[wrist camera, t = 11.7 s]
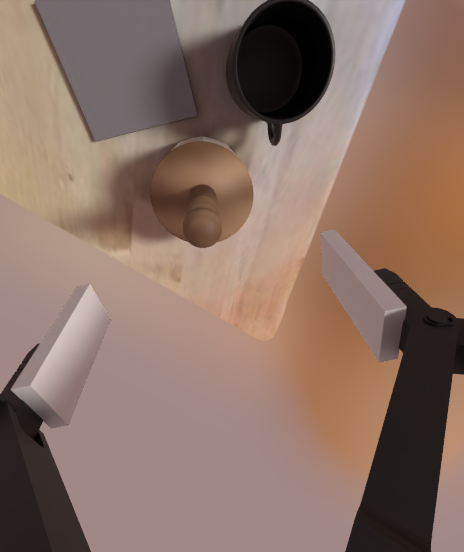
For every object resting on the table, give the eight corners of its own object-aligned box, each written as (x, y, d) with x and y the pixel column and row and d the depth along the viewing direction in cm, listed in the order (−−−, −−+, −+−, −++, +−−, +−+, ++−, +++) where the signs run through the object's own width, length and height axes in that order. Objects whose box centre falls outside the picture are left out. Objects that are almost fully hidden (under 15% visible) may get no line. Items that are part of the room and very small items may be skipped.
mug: (230, 143, 37) (237, 155, 30) (222, 21, 31) (228, -2, 23) (301, 136, 38) (326, 147, 30) (308, 15, 31) (342, -10, 24)
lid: (135, 155, 32) (104, 183, 22) (241, 129, 31) (259, 145, 21) (170, 249, 38) (159, 304, 28) (259, 229, 38) (279, 277, 28)
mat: (37, 2, 29) (34, 0, 28) (161, -33, 28) (160, -35, 28) (96, 140, 36) (95, 141, 35) (197, 115, 35) (197, 115, 35)
